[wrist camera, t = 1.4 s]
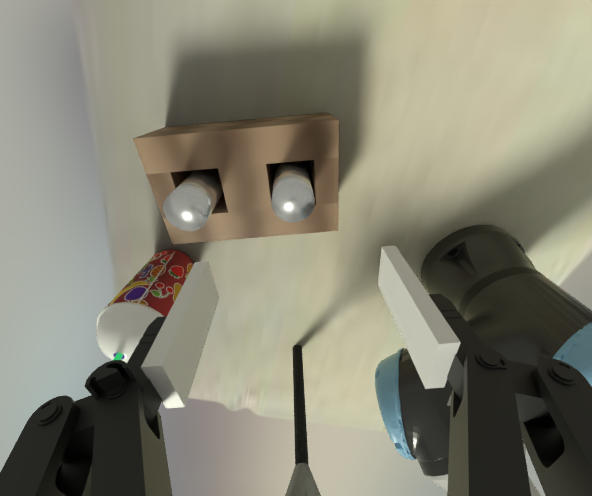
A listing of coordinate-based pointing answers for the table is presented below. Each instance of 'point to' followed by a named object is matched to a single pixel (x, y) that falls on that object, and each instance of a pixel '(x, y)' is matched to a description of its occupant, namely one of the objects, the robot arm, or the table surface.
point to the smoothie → (141, 303)
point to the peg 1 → (193, 200)
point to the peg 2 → (292, 192)
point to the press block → (246, 172)
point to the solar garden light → (300, 436)
